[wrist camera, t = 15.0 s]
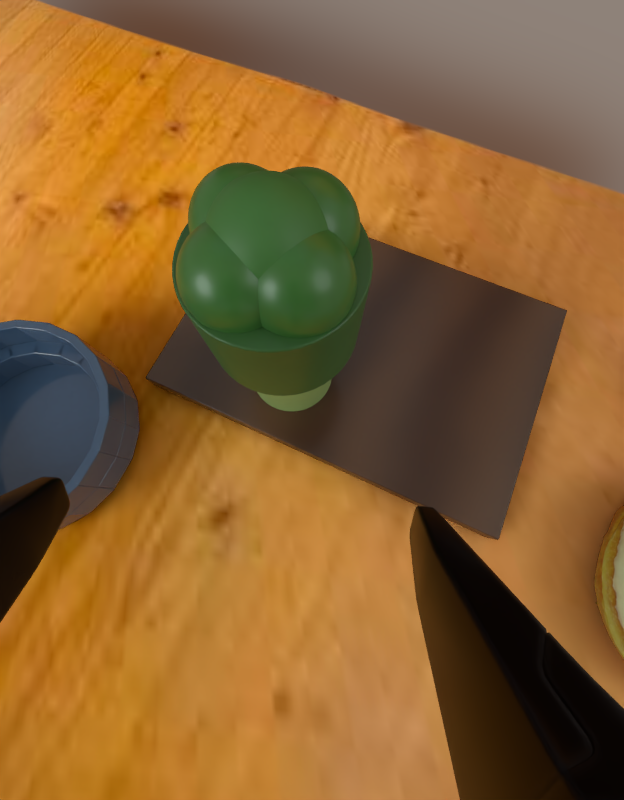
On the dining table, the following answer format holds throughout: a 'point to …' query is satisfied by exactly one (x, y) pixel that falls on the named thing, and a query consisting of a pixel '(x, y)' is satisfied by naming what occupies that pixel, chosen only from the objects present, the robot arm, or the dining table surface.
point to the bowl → (63, 414)
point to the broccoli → (275, 277)
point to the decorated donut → (612, 581)
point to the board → (409, 389)
